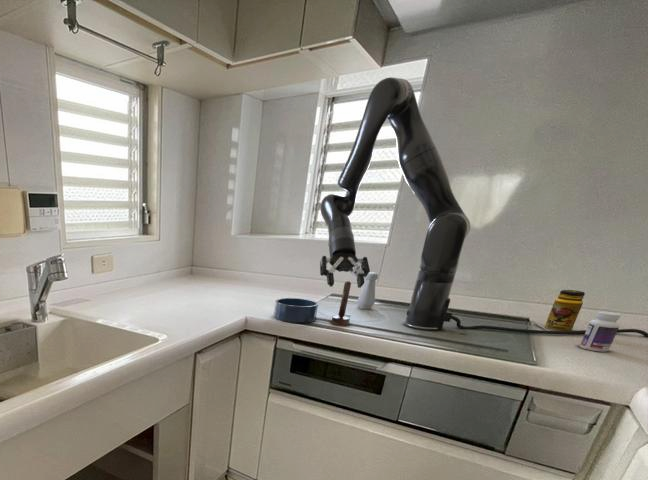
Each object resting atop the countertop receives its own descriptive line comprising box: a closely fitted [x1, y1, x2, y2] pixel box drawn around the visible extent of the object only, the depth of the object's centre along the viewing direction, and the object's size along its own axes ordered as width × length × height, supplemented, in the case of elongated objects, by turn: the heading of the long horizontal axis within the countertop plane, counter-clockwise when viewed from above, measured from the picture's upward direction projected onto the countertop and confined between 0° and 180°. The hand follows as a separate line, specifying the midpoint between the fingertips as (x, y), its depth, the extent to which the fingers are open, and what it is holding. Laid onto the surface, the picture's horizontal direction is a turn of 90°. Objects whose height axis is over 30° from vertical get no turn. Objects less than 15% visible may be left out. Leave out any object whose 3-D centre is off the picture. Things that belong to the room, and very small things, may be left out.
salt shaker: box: [356, 271, 379, 310], centre depth 147 cm, size 6×6×13 cm
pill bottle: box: [579, 311, 622, 353], centre depth 105 cm, size 5×5×10 cm
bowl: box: [273, 297, 319, 324], centre depth 133 cm, size 13×13×6 cm
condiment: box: [535, 289, 586, 331], centre depth 123 cm, size 7×8×12 cm
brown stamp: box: [330, 280, 352, 327], centre depth 126 cm, size 5×5×13 cm
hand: (346, 285), depth 125 cm, fingers open, 8 cm apart
